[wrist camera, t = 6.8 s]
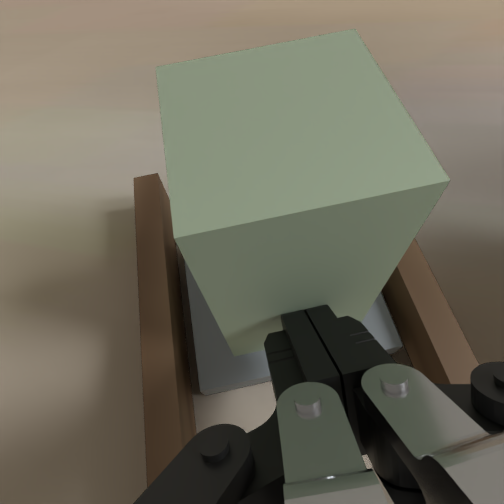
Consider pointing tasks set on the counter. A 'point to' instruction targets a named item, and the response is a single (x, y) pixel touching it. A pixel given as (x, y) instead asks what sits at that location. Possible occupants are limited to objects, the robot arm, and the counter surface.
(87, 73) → the counter surface
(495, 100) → the counter surface
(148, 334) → the shelf lane
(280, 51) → the block
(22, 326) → the counter surface
